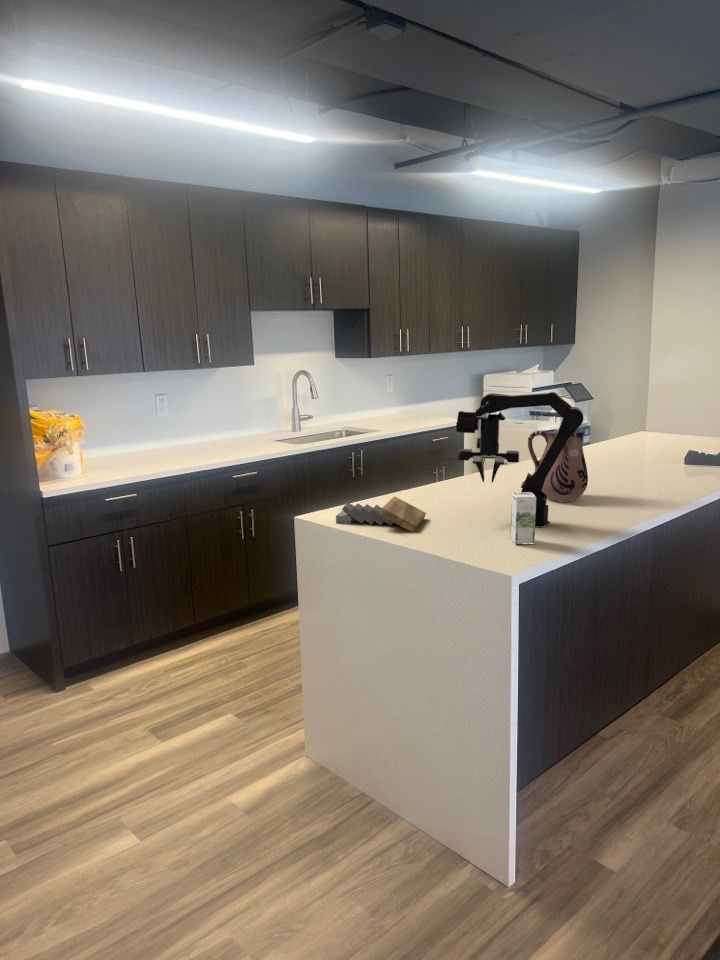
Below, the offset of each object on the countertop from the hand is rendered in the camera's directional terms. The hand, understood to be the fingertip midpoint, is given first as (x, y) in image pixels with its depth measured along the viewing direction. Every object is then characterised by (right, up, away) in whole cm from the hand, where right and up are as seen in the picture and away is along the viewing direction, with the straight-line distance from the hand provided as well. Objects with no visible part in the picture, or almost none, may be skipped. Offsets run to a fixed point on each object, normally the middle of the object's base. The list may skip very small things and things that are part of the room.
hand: (487, 482), depth 222 cm
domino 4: (-30, -13, +2) cm, 33 cm away
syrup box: (+6, -18, -20) cm, 28 cm away
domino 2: (-36, -13, +4) cm, 38 cm away
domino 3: (-33, -13, +3) cm, 36 cm away
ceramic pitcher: (+30, -7, +29) cm, 43 cm away
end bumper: (-46, -13, +7) cm, 48 cm away
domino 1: (-39, -12, +5) cm, 41 cm away
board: (-22, -13, -1) cm, 25 cm away
